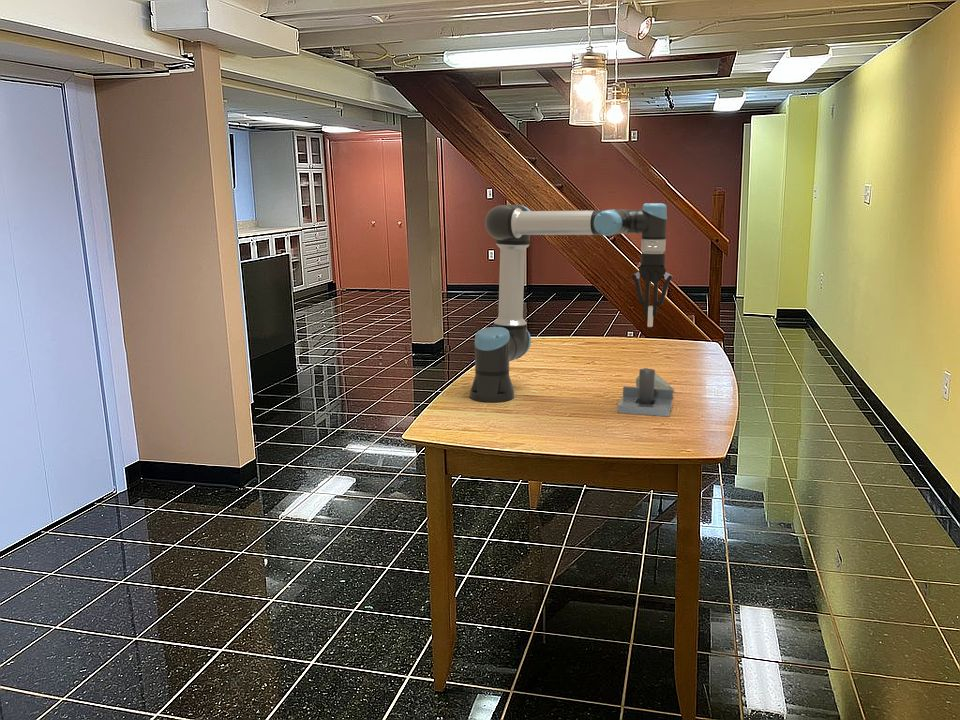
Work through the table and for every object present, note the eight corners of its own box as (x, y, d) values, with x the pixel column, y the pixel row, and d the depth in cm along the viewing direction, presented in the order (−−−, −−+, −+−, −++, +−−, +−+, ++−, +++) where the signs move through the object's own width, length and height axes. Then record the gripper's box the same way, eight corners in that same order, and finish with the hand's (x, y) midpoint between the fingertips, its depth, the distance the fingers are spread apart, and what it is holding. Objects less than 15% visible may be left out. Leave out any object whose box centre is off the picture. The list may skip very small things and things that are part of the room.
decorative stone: (627, 396, 279) (641, 376, 272) (633, 379, 287) (647, 359, 281) (660, 415, 278) (675, 396, 272) (665, 397, 287) (680, 378, 280)
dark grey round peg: (637, 410, 261) (638, 371, 258) (638, 406, 265) (640, 368, 262) (652, 411, 259) (654, 372, 257) (653, 407, 264) (655, 368, 261)
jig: (617, 412, 258) (618, 396, 257) (623, 402, 271) (623, 386, 270) (668, 416, 253) (669, 399, 252) (672, 405, 266) (673, 389, 265)
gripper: (630, 253, 255) (628, 327, 260) (673, 254, 251) (669, 329, 256) (633, 251, 262) (631, 323, 267) (674, 252, 258) (671, 325, 263)
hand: (650, 326), depth 262 cm, fingers closed
